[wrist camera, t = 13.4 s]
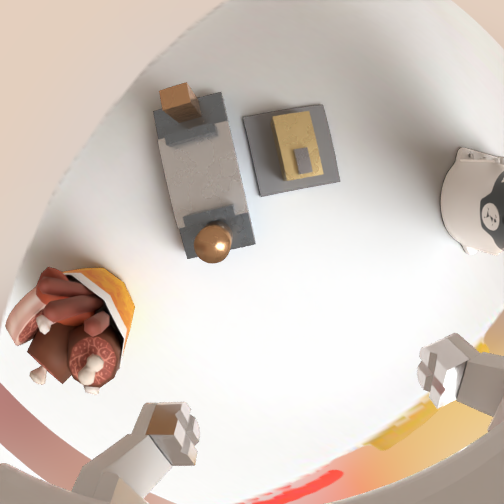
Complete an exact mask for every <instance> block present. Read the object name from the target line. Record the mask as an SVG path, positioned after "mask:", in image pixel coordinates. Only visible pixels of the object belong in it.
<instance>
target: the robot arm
mask: <svg viewBox="0 0 504 504" xmlns="http://www.w3.org/2000/svg"><path fill="white" fill-rule="evenodd" d="M468 156H469V157H468ZM441 212H442V218H443V221H444V224H445V227H446V229H447V231H448V232H449V234H450V235H451V236H452V237H453V238H454V239H455V240H456V241H458V242H459V243H461V244H462V246H463V248H464V250H465V252H466V253H467V254H469V255H473V254H475V253H476V252H478V251H482V252H485V253H488V254H492V255H499V253H501V252H503V251H504V157H495V156H492V155H488V154H485V153H482V152H478V151H475V150H471V149H467V148H460V149H459V150H458V153H457V157H456V161H455V163H454V165H453V166H452V167H451V169H450V170H449V172H448V173H447V175H446V177H445V180H444V183H443V187H442V192H441ZM419 357H420V359H421V360H422V361H421V363H420V364H419V366H418V370H417V376H418V381H419V383H420V385H421V387H422V388H423V390H426V391H429V392H430V394H429V398H430V399H431V401H432V402H433V403H434V405H435V406H436V408H437V409H438V408H440V407H442V406H444V405H446V404H448V403H450V402H452V401H454V400H456V401H458V402H461V403H463V404H465V405H467V406H469V407H471V408H474V409H476V410H478V411H480V412H483V413H485V414H487V415H490V416H492V417H493V419H492V421H491V423H490V425H489V427H488V433H486V434H485V435H483V436H482V437H480V438H479V439H477V440H476V441H475V442H473V443H471V444H470V445H468V446H466V447H465V448H463V449H461V450H460V451H458V452H456V453H454V454H453V455H451V456H449V457H448V458H445V459H444V460H442V461H440V462H438V463H436V464H434V465H432V466H430V467H428V468H426V469H424V470H422V471H419V472H417V473H415V474H413V475H411V476H409V477H406V478H404V479H401V480H399V481H396V482H394V483H391V484H389V485H386V486H383V487H380V488H378V489H375V490H372V491H369V492H366V493H362V494H359V495H356V496H352V497H349V498H345V499H342V500H338V501H334V502H330V503H325V504H504V356H499V355H495V354H490V353H486V352H483V353H479V352H478V351H477V350H476V349H475V348H474V347H473V346H472V345H470V344H469V343H468V342H467V341H466V340H465V339H463V338H462V337H461V336H460V335H459V334H457V333H453V334H451V335H449V336H447V337H445V338H443V339H440V340H438V341H436V342H434V343H431V344H429V345H427V346H424V347H422V348H421V350H420V355H419ZM190 411H191V409H190V407H189V405H188V403H186V402H159V403H146V404H144V405H143V407H142V410H141V412H140V414H139V417H138V419H137V422H136V424H135V426H134V429H133V431H132V434H127V435H126V436H125V437H123V438H122V439H121V440H119V441H118V442H116V443H115V444H114V445H112V446H111V447H110V448H108V449H107V450H105V451H104V452H103V453H101V454H100V455H98V456H97V457H96V458H94V459H93V460H91V461H90V462H89V463H87V464H85V465H84V466H83V467H82V469H81V471H80V474H79V476H78V478H77V480H76V482H75V484H74V486H73V489H72V491H69V490H66V489H63V488H60V487H58V486H55V485H53V484H50V483H48V482H45V481H43V480H40V479H38V478H36V477H34V476H31V475H29V474H27V473H25V472H23V471H21V470H19V469H17V468H15V467H13V466H11V465H9V464H6V463H1V464H0V504H149V503H148V502H147V501H145V500H144V499H143V498H144V497H145V496H146V495H147V494H148V493H149V492H150V491H151V490H152V489H153V488H154V487H155V486H156V485H157V483H158V482H159V481H160V480H161V479H162V478H163V477H164V476H165V475H166V473H167V472H168V471H169V470H170V469H171V468H172V466H191V465H195V462H196V457H197V450H196V448H195V445H196V444H197V443H198V442H199V438H200V430H199V425H198V422H197V420H196V418H195V417H193V416H192V415H190Z"/></svg>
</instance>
